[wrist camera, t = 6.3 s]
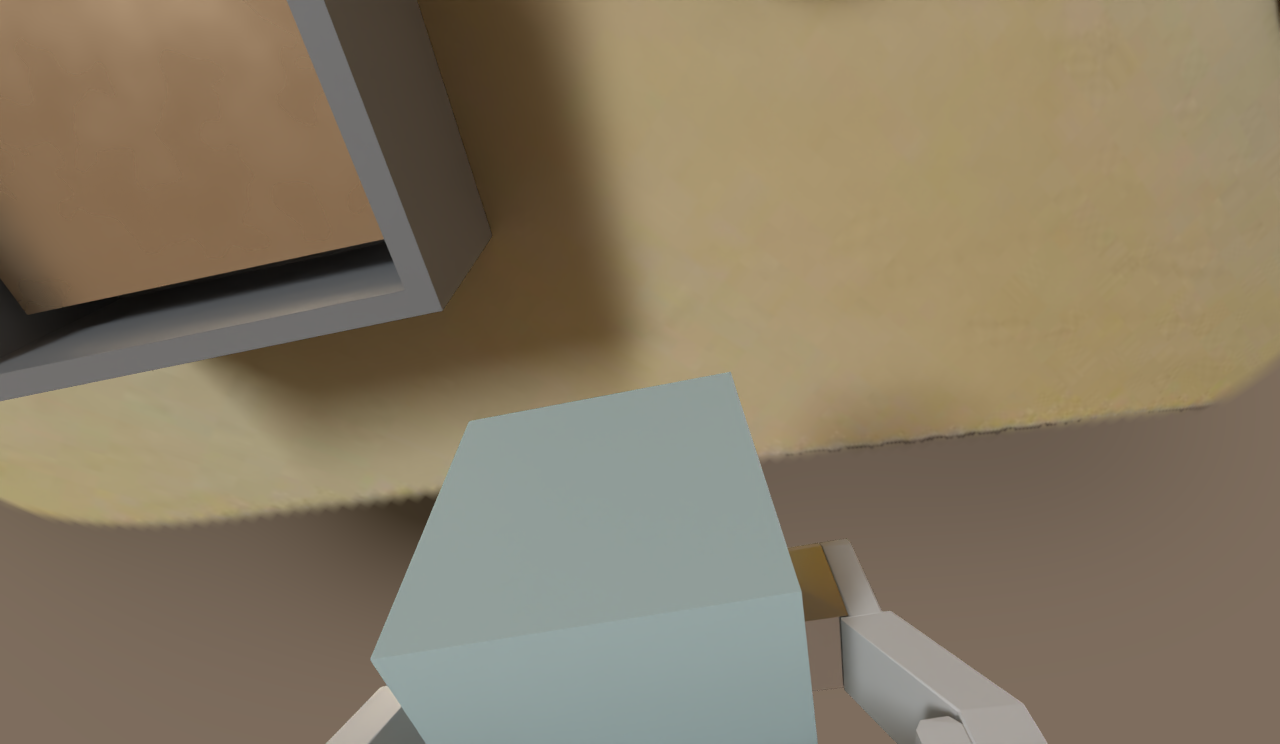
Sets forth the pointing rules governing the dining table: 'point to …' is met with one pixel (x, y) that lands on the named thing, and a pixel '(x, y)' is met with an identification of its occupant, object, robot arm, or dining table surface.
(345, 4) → the tote
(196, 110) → the brown layer
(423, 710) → the pale green block
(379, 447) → the dining table surface
